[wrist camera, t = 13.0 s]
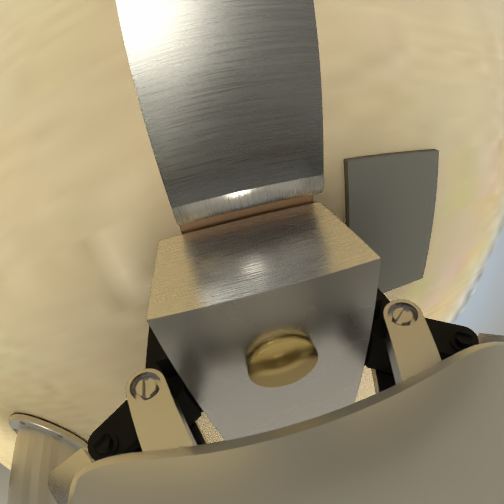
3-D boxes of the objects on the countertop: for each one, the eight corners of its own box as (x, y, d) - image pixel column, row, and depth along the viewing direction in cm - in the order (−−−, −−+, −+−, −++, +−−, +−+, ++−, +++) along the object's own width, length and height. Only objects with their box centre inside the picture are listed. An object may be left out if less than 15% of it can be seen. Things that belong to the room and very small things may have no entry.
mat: (419, 275, 20) (422, 277, 19) (344, 301, 19) (346, 305, 19) (434, 149, 14) (438, 150, 14) (343, 159, 14) (347, 160, 14)
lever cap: (323, 343, 13) (357, 410, 9) (215, 372, 12) (227, 448, 9) (319, 201, 9) (388, 265, 6) (159, 240, 9) (145, 329, 5)
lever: (337, 202, 8) (303, -126, 1) (169, 241, 7) (88, -101, 1) (314, 176, 9) (282, -104, 2) (170, 209, 8) (103, -80, 2)
